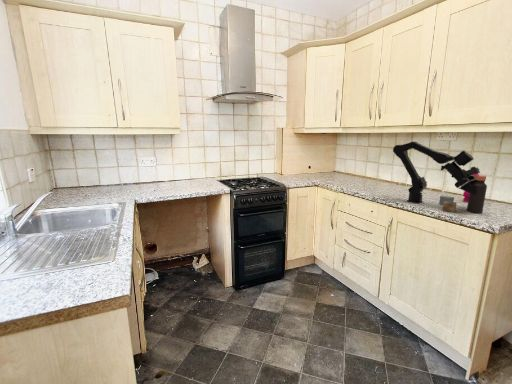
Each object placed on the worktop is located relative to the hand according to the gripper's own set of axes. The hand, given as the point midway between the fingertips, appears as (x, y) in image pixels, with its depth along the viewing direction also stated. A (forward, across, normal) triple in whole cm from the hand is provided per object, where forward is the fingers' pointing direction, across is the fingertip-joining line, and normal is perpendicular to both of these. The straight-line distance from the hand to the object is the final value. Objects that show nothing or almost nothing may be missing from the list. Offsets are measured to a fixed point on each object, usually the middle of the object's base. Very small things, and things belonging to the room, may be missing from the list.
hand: (477, 193), depth 144 cm
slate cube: (-3, +7, +18) cm, 20 cm away
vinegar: (+7, 0, +8) cm, 11 cm away
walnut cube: (0, -8, +14) cm, 17 cm away
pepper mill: (+2, +26, +13) cm, 29 cm away
